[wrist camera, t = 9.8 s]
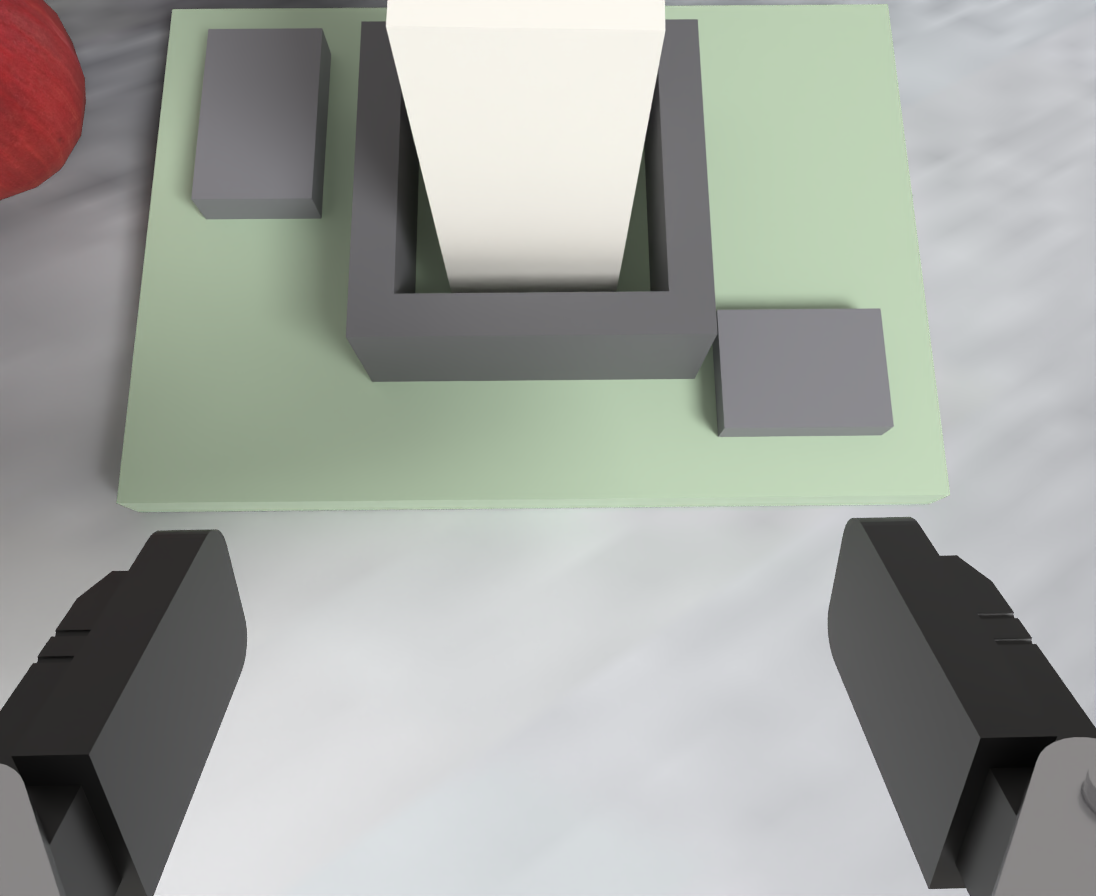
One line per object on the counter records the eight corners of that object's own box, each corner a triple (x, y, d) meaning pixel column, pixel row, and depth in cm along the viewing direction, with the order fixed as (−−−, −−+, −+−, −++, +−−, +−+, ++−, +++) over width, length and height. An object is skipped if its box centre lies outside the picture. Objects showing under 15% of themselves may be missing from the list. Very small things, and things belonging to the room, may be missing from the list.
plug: (455, 308, 22) (385, 26, 13) (462, 147, 23) (403, -225, 14) (612, 310, 22) (665, 30, 13) (612, 149, 23) (660, -221, 14)
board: (139, 512, 22) (47, 476, 18) (189, 39, 26) (121, -81, 21) (928, 504, 22) (1014, 466, 18) (872, 34, 26) (934, -86, 22)
